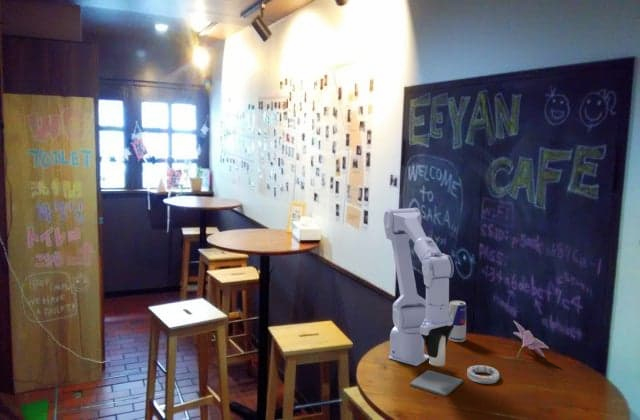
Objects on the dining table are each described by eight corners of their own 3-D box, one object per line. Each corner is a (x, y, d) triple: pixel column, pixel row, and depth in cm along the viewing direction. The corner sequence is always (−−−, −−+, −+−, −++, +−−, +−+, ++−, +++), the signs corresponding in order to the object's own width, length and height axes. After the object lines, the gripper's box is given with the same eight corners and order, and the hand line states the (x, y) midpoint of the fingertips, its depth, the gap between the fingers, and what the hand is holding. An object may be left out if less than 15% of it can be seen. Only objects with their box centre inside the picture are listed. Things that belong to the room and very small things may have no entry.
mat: (409, 385, 135) (409, 383, 135) (428, 371, 143) (428, 369, 143) (445, 396, 129) (445, 394, 129) (462, 381, 137) (462, 379, 137)
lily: (548, 370, 145) (560, 338, 147) (508, 352, 146) (519, 320, 148) (533, 366, 157) (544, 336, 158) (495, 349, 158) (506, 319, 160)
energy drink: (466, 343, 163) (467, 305, 162) (448, 342, 164) (449, 305, 163) (465, 336, 168) (465, 300, 167) (448, 335, 169) (448, 299, 168)
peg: (426, 363, 135) (426, 337, 134) (433, 358, 138) (433, 332, 137) (441, 367, 132) (441, 340, 132) (447, 362, 136) (447, 336, 135)
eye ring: (462, 378, 139) (462, 372, 139) (474, 368, 145) (474, 362, 145) (491, 386, 134) (491, 380, 134) (503, 375, 140) (503, 370, 140)
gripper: (438, 312, 125) (437, 367, 127) (464, 298, 136) (463, 348, 138) (412, 307, 130) (412, 360, 131) (439, 294, 141) (438, 342, 143)
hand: (436, 353), depth 135 cm, fingers closed on peg, 4 cm apart
